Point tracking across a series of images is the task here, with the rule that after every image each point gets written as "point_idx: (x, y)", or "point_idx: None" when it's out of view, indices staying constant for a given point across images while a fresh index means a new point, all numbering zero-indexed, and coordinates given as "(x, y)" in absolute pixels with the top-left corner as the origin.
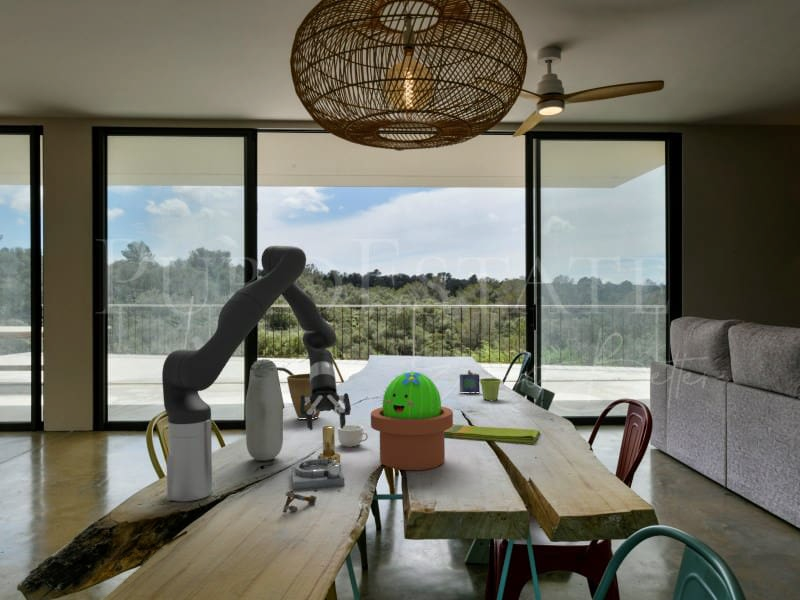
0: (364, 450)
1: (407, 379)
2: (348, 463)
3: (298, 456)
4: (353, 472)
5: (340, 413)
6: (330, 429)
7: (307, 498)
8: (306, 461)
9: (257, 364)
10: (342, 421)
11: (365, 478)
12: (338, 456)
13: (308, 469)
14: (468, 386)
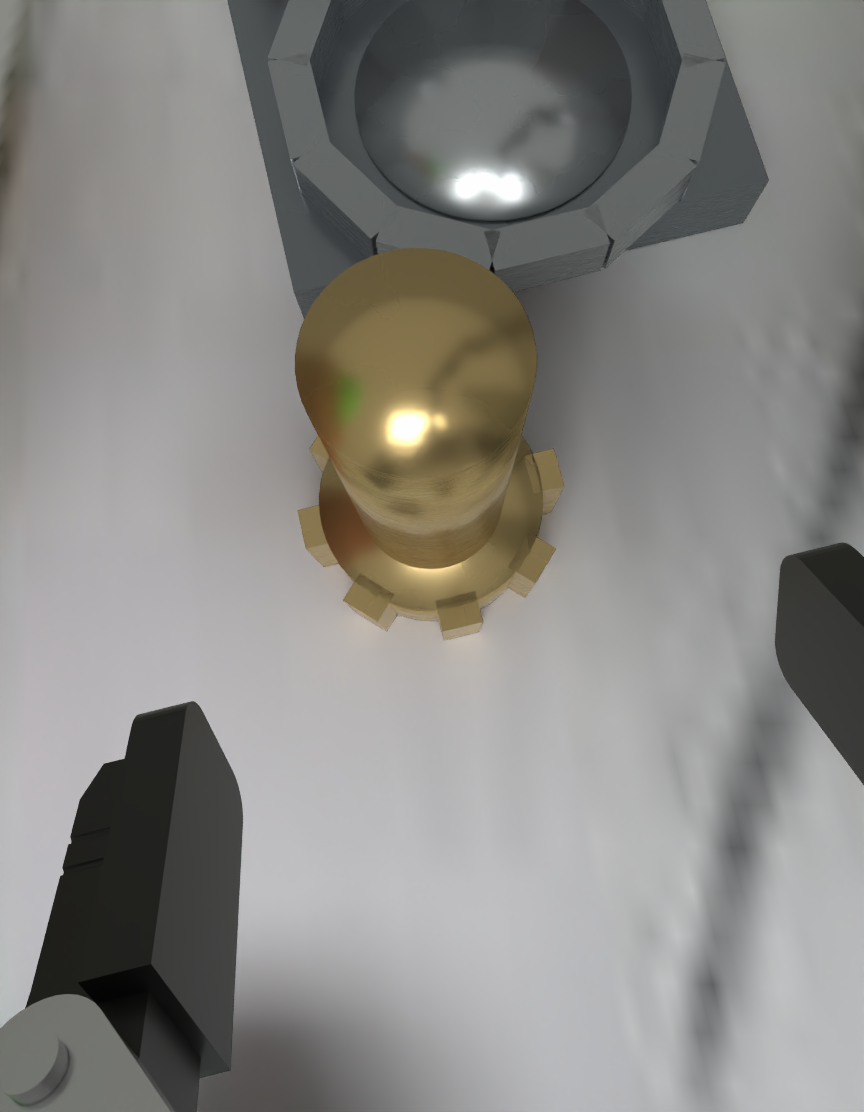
0: None
1: None
2: (229, 548)
3: (854, 840)
4: (163, 269)
5: (136, 958)
6: (364, 268)
7: None
8: (632, 178)
9: None
10: (144, 754)
11: (51, 115)
12: (311, 451)
13: (575, 95)
14: None
